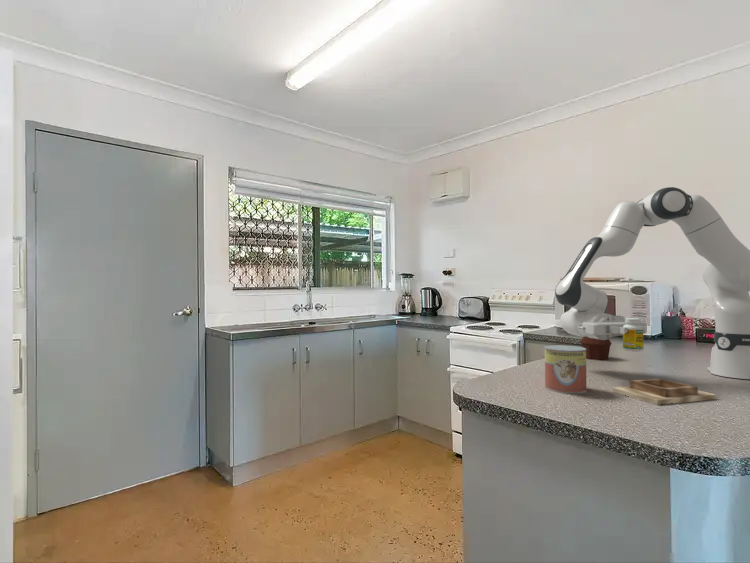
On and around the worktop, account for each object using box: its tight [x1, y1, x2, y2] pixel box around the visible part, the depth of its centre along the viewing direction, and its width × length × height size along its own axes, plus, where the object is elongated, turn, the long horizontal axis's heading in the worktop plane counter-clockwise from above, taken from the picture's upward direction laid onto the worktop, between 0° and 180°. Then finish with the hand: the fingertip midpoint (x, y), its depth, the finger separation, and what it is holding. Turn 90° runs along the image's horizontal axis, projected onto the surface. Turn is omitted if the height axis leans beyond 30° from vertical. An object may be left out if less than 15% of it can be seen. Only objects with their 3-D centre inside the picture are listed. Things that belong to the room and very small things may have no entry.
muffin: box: [579, 336, 612, 361], centre depth 176 cm, size 12×11×10 cm
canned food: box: [543, 344, 588, 394], centre depth 124 cm, size 11×11×12 cm
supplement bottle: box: [622, 317, 645, 352], centre depth 128 cm, size 5×5×10 cm
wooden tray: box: [611, 377, 718, 406], centre depth 116 cm, size 20×14×3 cm
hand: (635, 330), depth 127 cm, fingers closed on supplement bottle, 5 cm apart
